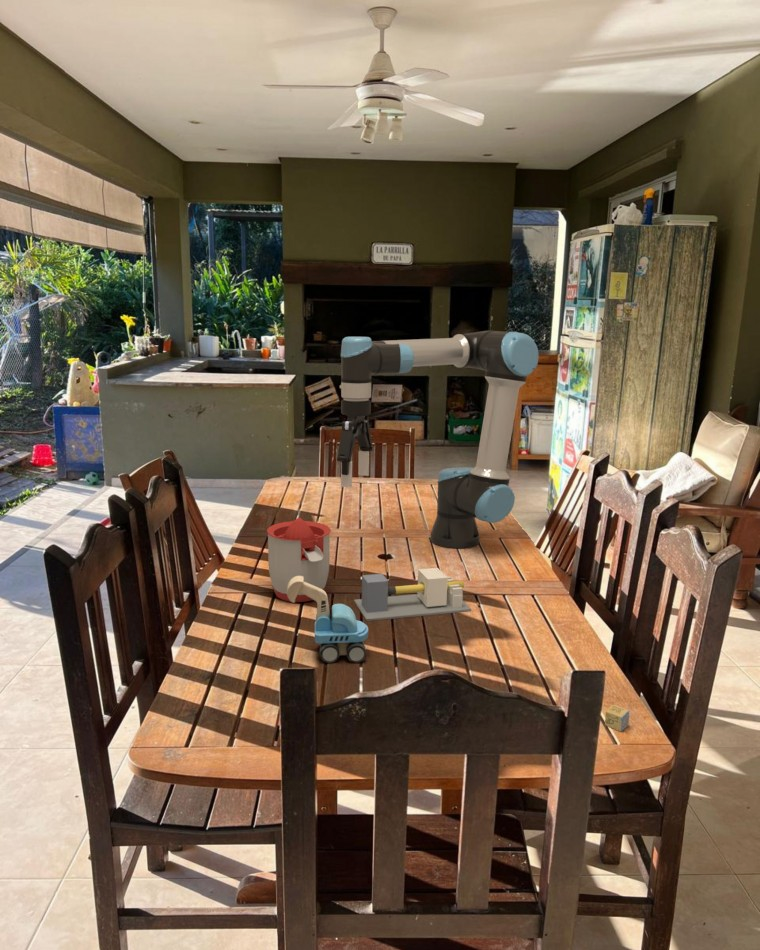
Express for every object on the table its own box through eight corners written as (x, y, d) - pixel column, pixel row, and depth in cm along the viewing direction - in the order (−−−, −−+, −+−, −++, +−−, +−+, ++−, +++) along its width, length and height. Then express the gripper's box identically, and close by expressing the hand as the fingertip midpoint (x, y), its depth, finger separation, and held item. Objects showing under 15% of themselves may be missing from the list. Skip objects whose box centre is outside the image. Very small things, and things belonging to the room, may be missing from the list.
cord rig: (453, 592, 192) (454, 562, 191) (471, 611, 181) (473, 579, 179) (354, 601, 185) (354, 570, 184) (366, 621, 174) (367, 588, 172)
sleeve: (436, 594, 188) (437, 567, 187) (446, 605, 182) (447, 577, 180) (417, 596, 187) (418, 569, 186) (426, 607, 181) (427, 579, 179)
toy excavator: (288, 646, 161) (287, 569, 157) (366, 644, 162) (367, 569, 159) (286, 664, 153) (286, 584, 149) (369, 663, 154) (370, 584, 150)
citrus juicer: (287, 614, 177) (286, 532, 173) (257, 590, 192) (256, 514, 187) (345, 601, 185) (346, 523, 181) (312, 579, 200) (312, 506, 195)
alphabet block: (621, 732, 131) (622, 716, 130) (604, 725, 133) (605, 710, 132) (628, 725, 133) (630, 710, 133) (611, 719, 135) (613, 703, 135)
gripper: (357, 392, 203) (357, 469, 208) (323, 404, 180) (324, 490, 185) (384, 394, 201) (383, 471, 206) (353, 406, 178) (353, 493, 183)
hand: (355, 481), depth 195 cm, fingers open, 13 cm apart
